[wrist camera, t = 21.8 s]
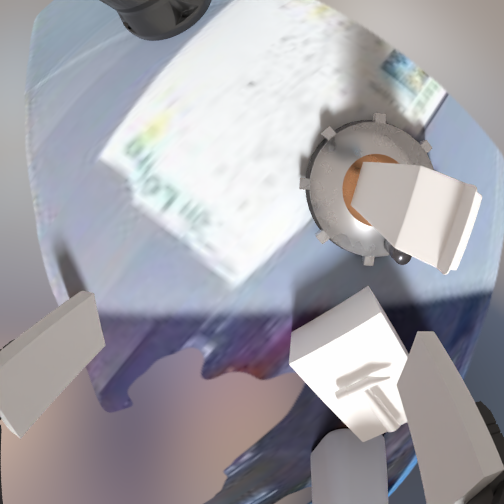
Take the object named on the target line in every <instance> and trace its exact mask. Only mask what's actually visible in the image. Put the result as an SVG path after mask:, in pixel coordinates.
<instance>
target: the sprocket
mask: <svg viewBox="0 0 504 504" xmlns="http://www.w3.org/2000/svg"><path fill="white" fill-rule="evenodd" d="M321 135H322V136H323V137H324V138H325V139H326V140H327V142H326V143H325V145H324V146H323V147H322V149H321V150H320V151H319V153H318V155H317V157H316V159H315V161H314V164H313V167H312V171H311V175H310V178H300V189H306V190H310V199H311V203H312V207H313V211H314V213H315V216H316V218H317V220H318V222H319V224H320V226H321V227H322V228H321V229H320V230H319V231H318V232H317V233H315V235H316V237H317V238H318V240H319V241H320V242H321V243H322V244H324V243H325V242H326V241H327V240H328V239H330V238H331V239H332V240H333V241H334V242H335V243H336V244H338V245H339V246H340V247H342V248H344V249H346V250H347V251H350V252H352V253H354V254H358V255H361V256H362V263H363V265H368V266H373V265H374V258H375V257H381V256H387V255H390V256H391V257H392V258H393V259H394V260H395V261H396V263H398V264H400V265H404V264H407V263H408V262H409V261H410V259H411V257H412V256H411V255H409V254H406V253H404V252H402V251H400V250H398V249H396V248H394V247H393V246H392V245H391V244H390V243H389V242H388V241H387V240H386V239H385V238H384V237H383V236H382V235H381V234H380V233H379V232H378V231H377V230H376V229H375V228H374V227H373V226H372V225H371V224H370V223H369V222H368V221H367V220H366V219H365V218H364V217H363V216H362V215H361V214H360V213H358V212H357V211H356V210H355V209H354V208H353V207H352V206H351V201H352V198H353V195H354V191H355V188H356V185H357V181H358V178H359V174H360V171H361V167H362V164H363V162H378V163H395V164H408V165H420V166H424V167H427V168H429V169H432V170H434V169H433V166H432V163H431V161H430V159H429V157H428V155H427V153H428V152H429V151H430V150H431V149H432V147H431V145H430V144H429V143H428V141H427V140H422V141H421V142H420V143H418V142H417V141H416V140H415V139H414V138H413V137H412V136H410V135H409V134H408V133H406V132H405V131H403V130H401V129H399V128H397V127H395V126H392V125H389V124H386V114H382V113H374V114H373V122H364V123H359V124H355V125H352V126H349V127H347V128H345V129H343V130H341V131H340V132H338V133H336V132H335V131H334V130H333V129H332V128H331V127H330V126H329V127H328V128H326V129H325V130H324V131H323V132H322V133H321Z"/></svg>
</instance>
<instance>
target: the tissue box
mask: <svg viewBox="0 0 504 504" xmlns="http://www.w3.org/2000/svg"><path fill="white" fill-rule="evenodd" d="M408 356H409V354H408V352H407V350H406V348H405V346H404V345H403V343H402V341H401V339H400V337H399V336H398V334H397V332H396V330H395V329H394V327H393V325H392V324H391V322H390V320H389V318H388V317H387V315H386V313H385V312H384V310H383V308H382V307H381V305H380V303H379V302H378V300H377V298H376V297H375V295H374V294H373V292H372V290H371V289H370V287H369V286H367V287H365V288H364V289H362V290H361V291H359V292H357V293H356V294H354V295H353V296H351V297H350V298H348V299H346V300H345V301H343V302H342V303H340V304H338V305H337V306H335V307H334V308H332V309H330V310H329V311H327V312H325V313H324V314H322V315H320V316H319V317H317V318H315V319H314V320H312V321H310V322H308V323H307V324H305V325H303V326H301V327H300V328H298V329H296V330H294V331H293V332H292V333H291V345H290V357H289V365H290V366H291V367H292V368H293V369H294V370H295V371H296V373H297V374H298V375H299V376H300V377H301V378H302V379H303V380H304V381H305V382H306V383H307V385H308V386H309V387H310V388H311V389H312V390H313V391H314V392H315V393H316V394H317V395H318V396H319V397H320V398H321V400H322V401H323V402H324V403H325V404H326V405H327V406H328V407H329V408H330V409H331V410H332V411H333V412H334V413H335V414H336V415H337V416H338V417H339V418H340V419H341V420H342V422H343V423H344V424H345V425H346V426H347V427H348V428H349V429H350V430H351V431H352V432H353V433H354V434H355V435H356V436H357V437H358V438H359V439H360V440H361V441H362V442H365V441H367V440H370V439H372V438H374V437H376V436H379V435H381V434H383V433H385V432H393V431H395V430H397V429H398V428H399V427H400V425H402V424H404V423H406V422H407V418H406V415H405V411H404V408H403V405H402V401H401V398H400V395H399V392H398V389H397V386H396V384H397V382H398V380H399V378H400V375H401V373H402V370H403V368H404V366H405V363H406V361H407V358H408Z"/></svg>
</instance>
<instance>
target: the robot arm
mask: <svg viewBox="0 0 504 504" xmlns="http://www.w3.org/2000/svg"><path fill="white" fill-rule="evenodd" d="M100 1H101V2H103V3H105V4H107V5H108V6H110V7H112V8H113V9H115V10H117V12H118V14H119V16H120V18H121V20H122V22H123V24H124V26H125V27H126V28H127V30H128V31H130V32H131V33H132V34H134V35H136V36H137V37H139V38H141V39H144V40H151V41H156V40H163V39H167V38H170V37H173V36H176V35H178V34H180V33H182V32H184V31H185V30H187V29H188V28H190V27H191V26H192V25H194V24H195V23H196V22H197V21H198V20H199V19H200V18H201V17H202V16H203V15H204V13H205V12H206V10H207V9H208V7H209V5H210V2H211V0H100ZM104 346H105V341H104V337H103V333H102V329H101V325H100V320H99V316H98V311H97V306H96V301H95V296H94V293H90V292H86V291H80V292H79V293H77V294H76V295H74V296H73V297H72V298H70V299H69V300H67V301H66V302H65V303H63V304H62V305H60V306H59V307H58V308H56V309H55V310H53V311H52V312H51V313H49V314H48V315H47V316H45V317H44V318H43V319H41V320H40V321H39V322H37V323H36V324H35V325H33V326H32V327H30V328H29V329H28V330H26V331H25V332H24V333H23V334H21V335H20V336H19V337H17V338H16V339H14V340H12V341H10V342H9V343H8V344H7V345H5V346H4V347H3V349H0V420H1V419H2V420H3V422H4V423H5V424H6V426H7V428H8V429H9V430H10V431H12V432H13V433H14V434H15V435H17V436H18V437H19V438H22V437H23V435H24V434H25V433H26V432H27V431H28V430H29V428H30V427H31V426H32V425H33V424H34V423H35V422H36V420H37V419H38V418H39V417H40V416H41V415H42V414H43V412H44V411H45V410H46V409H47V408H48V407H49V406H50V405H51V403H52V402H53V401H54V400H55V399H56V398H57V397H58V396H59V395H60V393H61V392H62V391H63V390H64V389H65V388H66V387H67V386H68V385H69V384H70V382H71V381H72V380H73V379H74V378H75V377H76V376H77V375H78V374H79V373H80V372H81V370H83V368H84V367H85V366H86V365H87V364H88V363H89V362H90V361H91V360H92V359H93V358H94V357H95V356H96V355H97V354H98V353H99V352H100V350H101V349H102V348H103V347H104ZM396 386H397V389H398V392H399V395H400V398H401V401H402V405H403V408H404V411H405V415H406V418H407V422H408V425H409V429H410V433H411V436H412V440H413V444H414V448H415V452H416V456H417V460H418V464H419V469H420V473H421V478H422V482H423V487H424V492H425V497H426V502H427V504H504V437H503V435H502V433H500V429H499V427H498V425H497V424H496V421H495V419H494V417H493V415H492V413H491V411H490V410H489V409H488V408H487V407H486V406H485V405H484V404H483V403H482V402H481V401H480V402H474V400H473V398H472V397H471V394H470V393H469V391H468V389H467V387H466V385H465V383H464V381H463V380H462V378H461V376H460V374H459V373H458V371H457V369H456V367H455V366H454V364H453V362H452V360H451V359H450V357H449V355H448V354H447V352H446V350H445V349H444V347H443V346H442V344H441V342H440V341H439V339H438V338H437V336H436V334H435V333H434V332H432V331H417V334H416V337H415V339H414V342H413V345H412V348H411V350H410V353H409V356H408V358H407V361H406V363H405V366H404V368H403V370H402V373H401V375H400V378H399V380H398V382H397V384H396ZM0 452H1V425H0ZM0 455H1V453H0ZM0 459H1V456H0ZM0 461H1V460H0ZM0 464H1V462H0ZM0 504H3V501H2V488H1V465H0Z"/></svg>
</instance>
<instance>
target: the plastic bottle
mask: <svg viewBox="0 0 504 504" xmlns="http://www.w3.org/2000/svg"><path fill="white" fill-rule="evenodd" d="M311 477H312V504H388V485H387V466H386V452H385V441H384V437H383V435H382V434H381V435H379V436H376V437H374V438H372V439H370V440H367V441H365V442H362V441H361V440H360V439H359V438H358V437H357V436H356V435H355V434H354V433H353V432H352V431H351V430H350V429H345V428H344V429H337V430H334V431H331V432H329V433H328V434H327V435H325V437H324V438H323V439H322V440H321V442H320V443H319V444H318V445H317V447H316V448H315V449H314V450H313V452H312V453H311Z"/></svg>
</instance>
